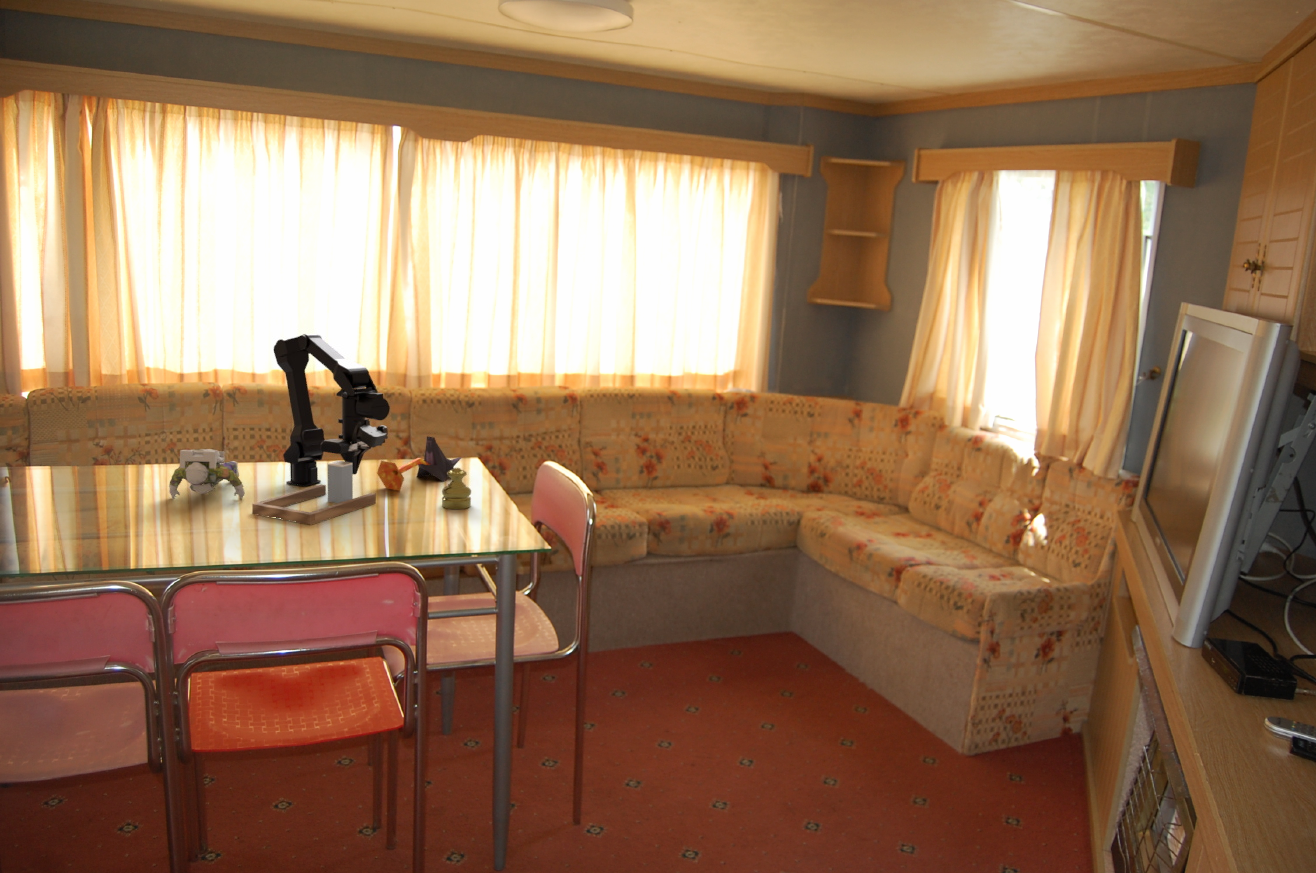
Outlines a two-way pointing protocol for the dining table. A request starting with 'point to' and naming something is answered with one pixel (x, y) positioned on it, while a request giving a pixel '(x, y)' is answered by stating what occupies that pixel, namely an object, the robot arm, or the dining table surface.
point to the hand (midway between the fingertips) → (353, 474)
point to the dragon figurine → (430, 465)
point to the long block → (340, 481)
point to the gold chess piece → (456, 491)
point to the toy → (205, 471)
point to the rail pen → (276, 509)
